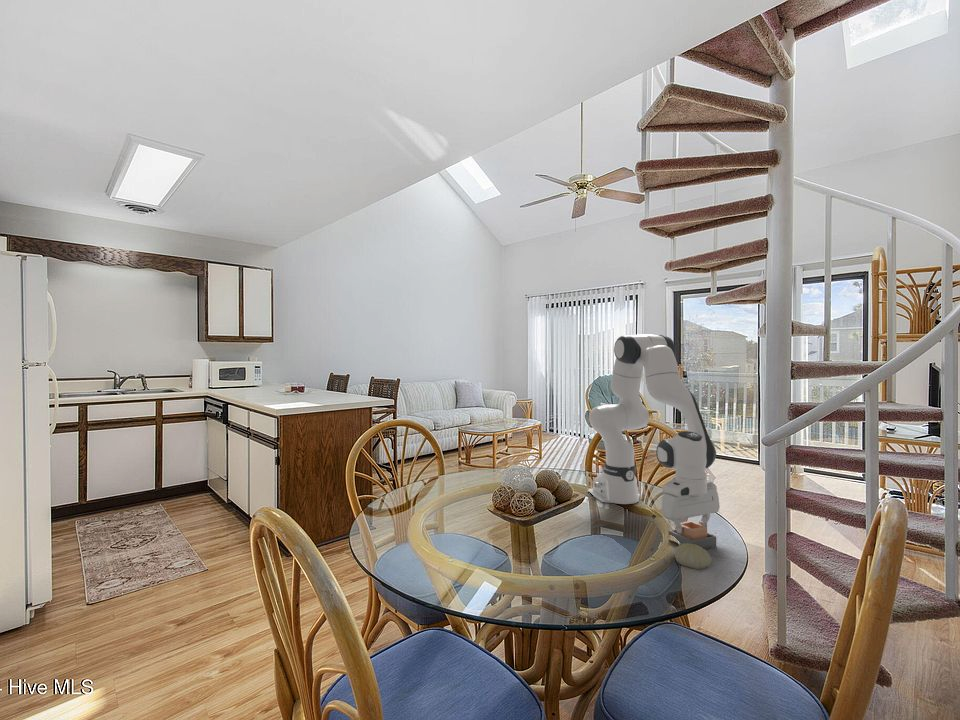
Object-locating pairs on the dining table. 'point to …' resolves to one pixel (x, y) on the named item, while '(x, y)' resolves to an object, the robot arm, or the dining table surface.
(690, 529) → the terracotta crate
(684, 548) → the sea urchin shell
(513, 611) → the dining table surface
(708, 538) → the charcoal crate
